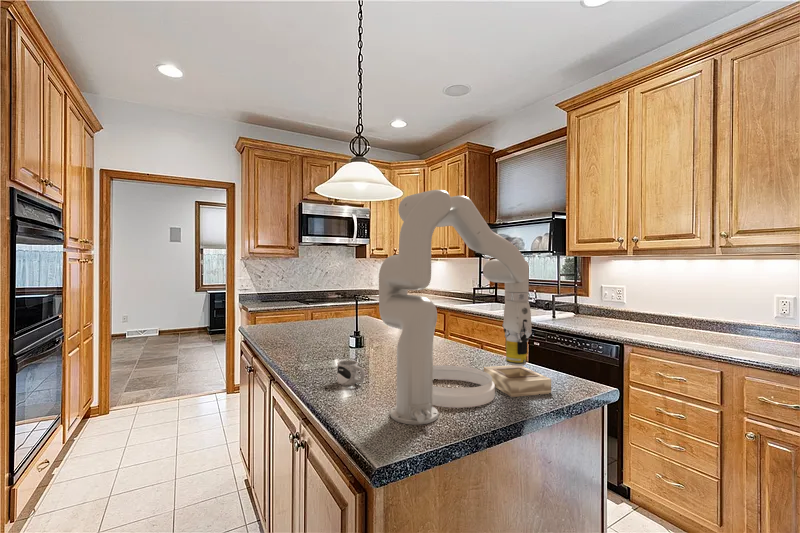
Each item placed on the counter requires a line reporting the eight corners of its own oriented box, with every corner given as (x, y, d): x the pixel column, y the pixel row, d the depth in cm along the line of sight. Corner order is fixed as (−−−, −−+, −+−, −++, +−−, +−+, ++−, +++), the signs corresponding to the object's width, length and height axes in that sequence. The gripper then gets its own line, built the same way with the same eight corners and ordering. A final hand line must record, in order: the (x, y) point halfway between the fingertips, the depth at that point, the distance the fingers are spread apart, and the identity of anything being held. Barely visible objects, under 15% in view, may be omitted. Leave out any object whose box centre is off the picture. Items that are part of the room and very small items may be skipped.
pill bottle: (522, 367, 124) (522, 331, 124) (502, 364, 128) (503, 328, 128) (529, 363, 129) (529, 328, 129) (510, 360, 133) (510, 326, 133)
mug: (333, 383, 130) (333, 363, 130) (345, 378, 136) (345, 359, 136) (357, 388, 125) (358, 367, 125) (369, 383, 131) (369, 363, 131)
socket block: (551, 393, 122) (551, 378, 122) (511, 397, 118) (511, 381, 118) (519, 377, 139) (519, 364, 139) (483, 380, 136) (483, 366, 136)
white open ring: (496, 412, 107) (496, 392, 107) (400, 404, 112) (400, 385, 112) (493, 383, 133) (493, 367, 133) (415, 377, 139) (415, 362, 139)
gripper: (542, 299, 121) (542, 357, 121) (512, 295, 138) (511, 345, 138) (521, 300, 119) (520, 358, 119) (493, 295, 136) (492, 346, 136)
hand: (516, 351), depth 129 cm, fingers closed on pill bottle, 6 cm apart
